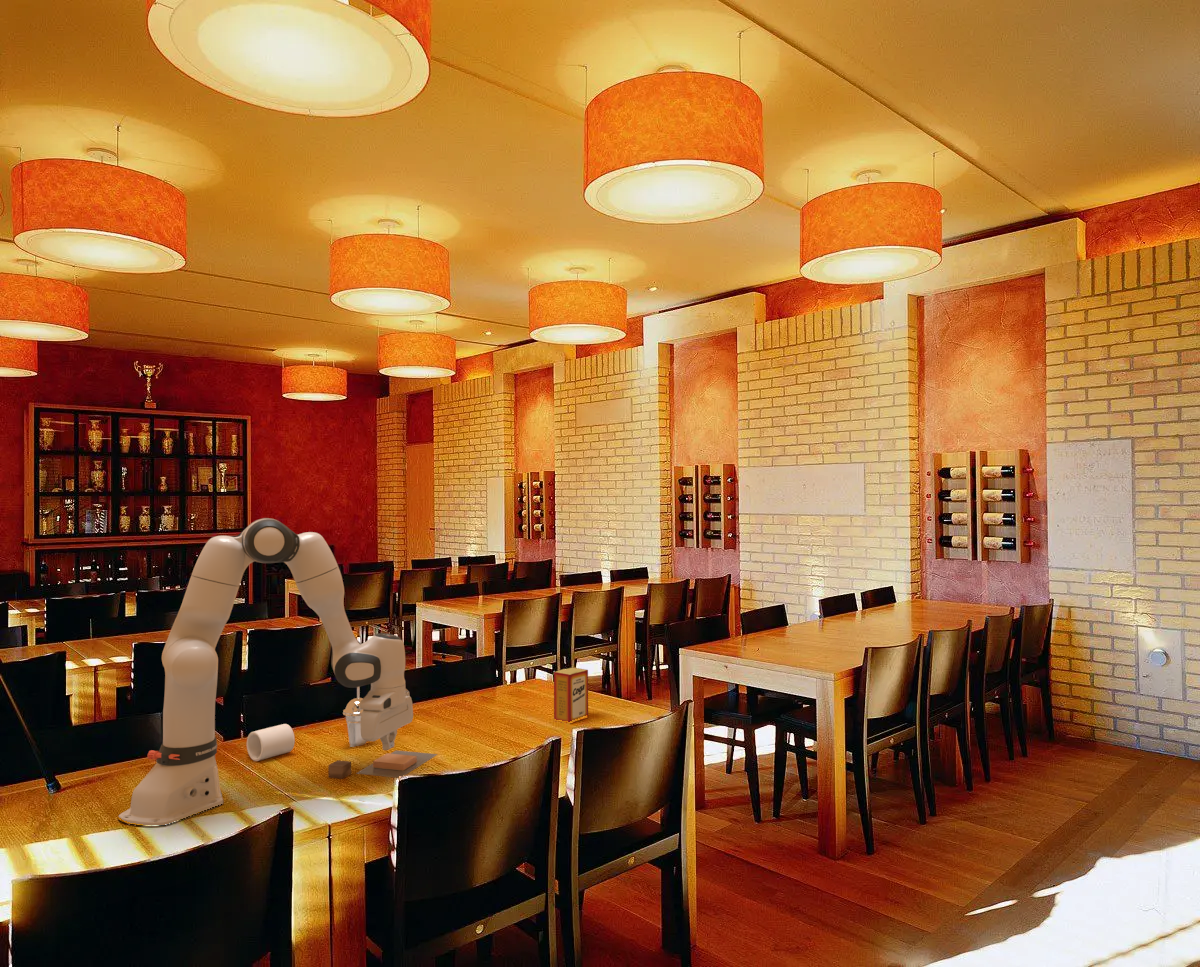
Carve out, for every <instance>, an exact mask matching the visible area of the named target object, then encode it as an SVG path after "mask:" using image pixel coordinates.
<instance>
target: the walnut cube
mask: <svg viewBox="0 0 1200 967" xmlns="http://www.w3.org/2000/svg"><path fill="white" fill-rule="evenodd" d="M350 775H352V761H350V760H348V761H347V760H336V761H333V762H332V763H330V764H328V778H331V779H339V780H340V779H341V780H343V779H344V778H346V777H349V776H350Z"/></svg>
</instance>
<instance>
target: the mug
mask: <svg viewBox="0 0 1200 967" xmlns="http://www.w3.org/2000/svg"><path fill="white" fill-rule="evenodd" d="M295 739H296V738H295V733H294V731H293V728H292V727H291V726H290V725H289V724H287V723H283V724H282V723H281V724H278V725H274V726H269V727H266V728H262V729H258V730H255V731H251V732H250V733H249V734H248V736H247V739H246V749H247V750H246V751H247V753H248V756H249V757H250V759H251V760H253V762H259V761H263V760H266V759H269V758H270V759H271V758H273V757H277V756H280V755H284V754H287V753H291V751H293V749H294V747H295V742H296V741H295Z"/></svg>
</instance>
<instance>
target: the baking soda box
mask: <svg viewBox="0 0 1200 967" xmlns="http://www.w3.org/2000/svg"><path fill="white" fill-rule="evenodd" d="M586 715H588V716H589V670H588V669H585V668H579V667H573V666H572V667H569V668H563V669H559V670H557V671H554V672H553V719H556V720H562V721H568V722H570V721H572V720H575V719H578V718H580V717H583V716H586Z"/></svg>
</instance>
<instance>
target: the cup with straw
mask: <svg viewBox="0 0 1200 967" xmlns="http://www.w3.org/2000/svg"><path fill="white" fill-rule="evenodd" d="M360 687H361V686H360ZM360 687H356V698H355V697H354V698H353V699H351V700H349V702H348V703H347V704H346V707H345V709H343V710H342V711H343V712H342V714H343V716H345V721H346V722H345V723H346V724H347V725H346V726H347V733H348V743H349V748H350V747H353V748H355V747H356V746H357V747H358V746H363V745H365V744H367V742H368V741H364V740H363V739H362V737H361V713H362V711H363V709H360V702H361V700H362V699H363V698H364V697H363V698H362V697H360V693H361V692H360V691H361V690H360Z"/></svg>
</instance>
